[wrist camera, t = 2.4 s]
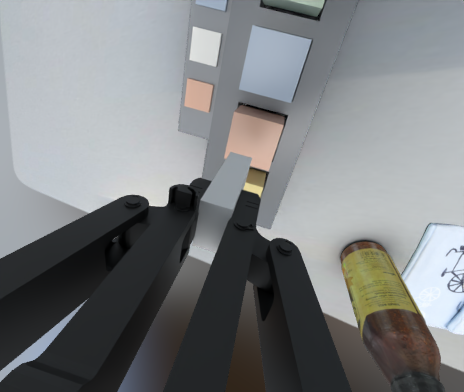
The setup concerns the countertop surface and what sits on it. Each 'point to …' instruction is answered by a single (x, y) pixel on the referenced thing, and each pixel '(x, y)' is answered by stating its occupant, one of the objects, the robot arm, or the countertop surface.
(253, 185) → the key mustard
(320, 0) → the key sage
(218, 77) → the keypad
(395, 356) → the sauce bottle
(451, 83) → the countertop surface
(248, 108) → the key terracotta
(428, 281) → the folded patterned cloth
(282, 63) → the key slate
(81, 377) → the robot arm
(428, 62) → the countertop surface
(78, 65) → the countertop surface
